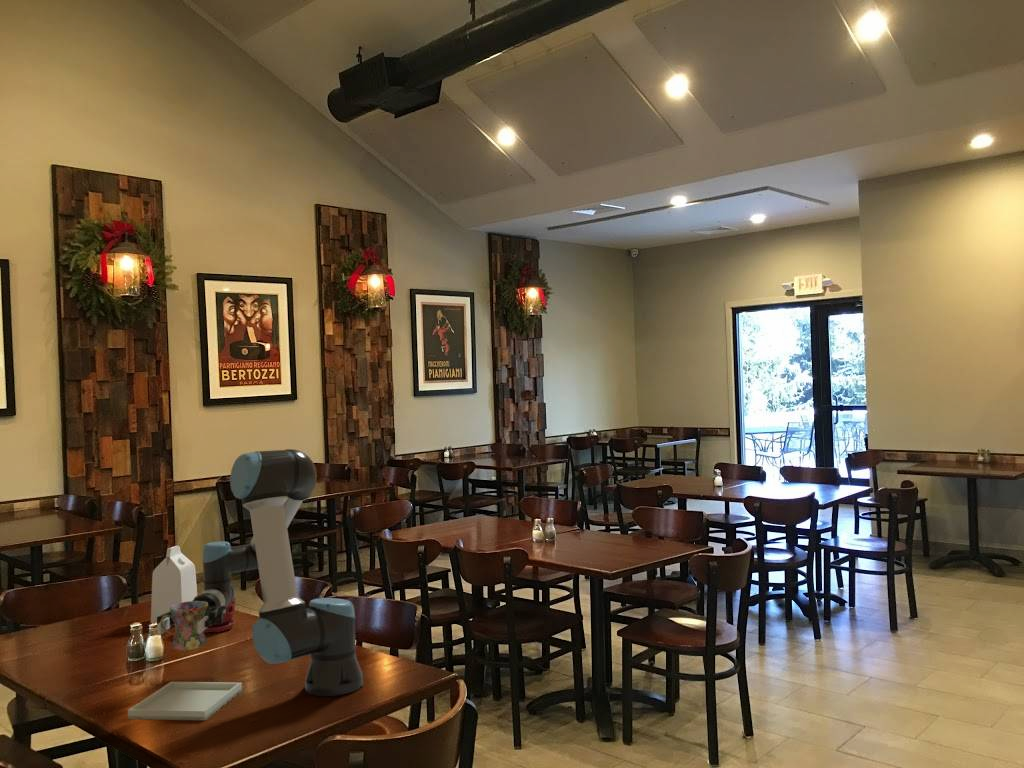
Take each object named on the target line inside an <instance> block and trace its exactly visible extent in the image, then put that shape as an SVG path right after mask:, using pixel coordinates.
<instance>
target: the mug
mask: <svg viewBox="0 0 1024 768" xmlns="http://www.w3.org/2000/svg"><path fill="white" fill-rule="evenodd" d="M207 607H208V603H207V602H204V601H188V602H182V603H178V604H174V605H172V606H171V607H170V608H169V609H170V611H171V613H172V615H173V616H171V615H165V616H164V617H162V619H161V621H160V624H161V627H162V628H163V629H164V630H165V633H167V634H169V635H172V636H173V638H172V640H173V642H172V644H171V646H172V648H173V649H175V650H178V651H179V650H180V651H189V650H190V651H191V650H195V649H199V648H202V647H204V646H205V645H206V644H207V643H208V638H207V637H206V634H205V632H204V631H203V632H202V633H201V634H198V627H197V623H198V622H199V621H200V620H201V619H203V618H204V616H205V612H206V609H207ZM166 617H171V618H172V619H173V621H174V622H175V626H174V628H175V632H174V633H173V632H171V631H169V630H166V629H165V628H164V626H163V623H162V622H163V619H164V618H166Z"/></svg>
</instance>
